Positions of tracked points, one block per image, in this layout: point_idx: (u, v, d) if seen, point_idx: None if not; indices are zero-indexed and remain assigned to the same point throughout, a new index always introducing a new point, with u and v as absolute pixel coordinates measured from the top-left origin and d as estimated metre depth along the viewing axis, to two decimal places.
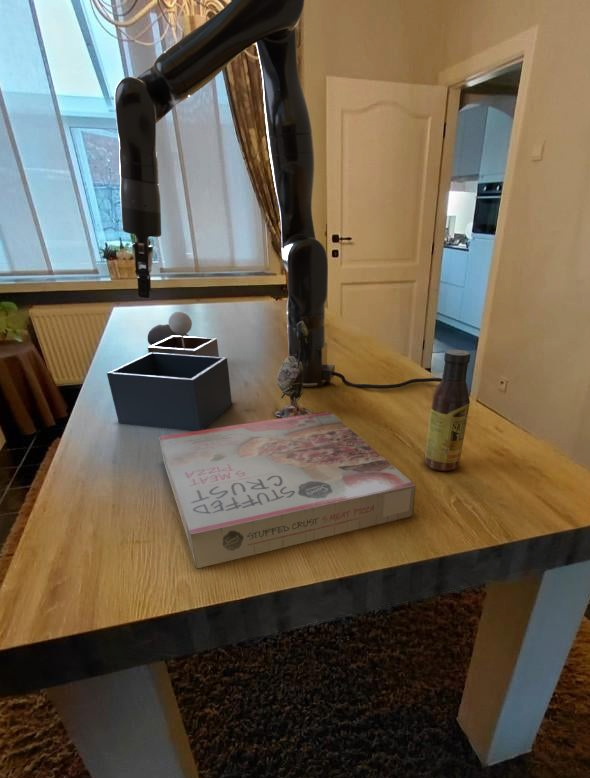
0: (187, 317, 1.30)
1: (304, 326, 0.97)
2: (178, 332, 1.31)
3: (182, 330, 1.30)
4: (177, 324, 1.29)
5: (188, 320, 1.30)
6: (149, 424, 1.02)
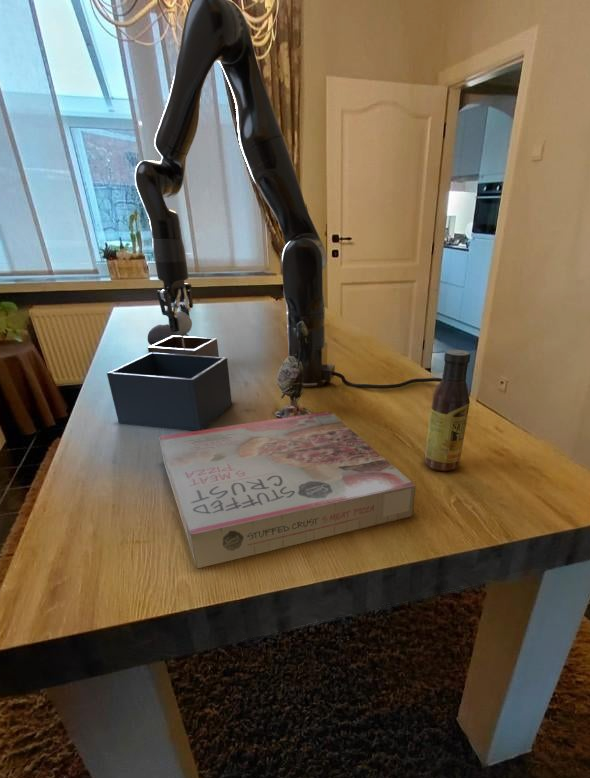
0: (187, 317, 1.30)
1: (304, 326, 0.97)
2: (178, 332, 1.31)
3: (182, 330, 1.30)
4: None
5: (188, 320, 1.30)
6: (149, 424, 1.02)
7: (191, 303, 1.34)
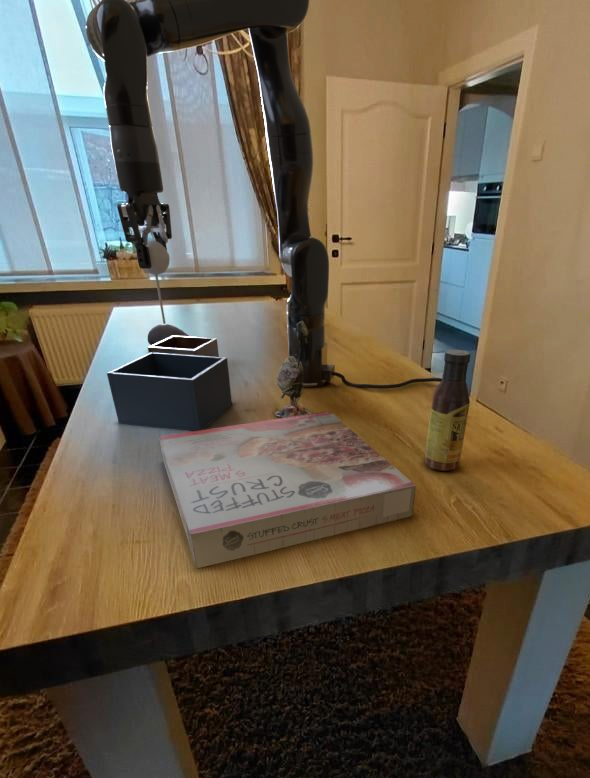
0: (163, 249, 0.93)
1: (304, 326, 0.97)
2: (150, 270, 0.94)
3: (155, 267, 0.93)
4: None
5: (164, 253, 0.93)
6: (149, 424, 1.02)
7: (169, 232, 0.97)
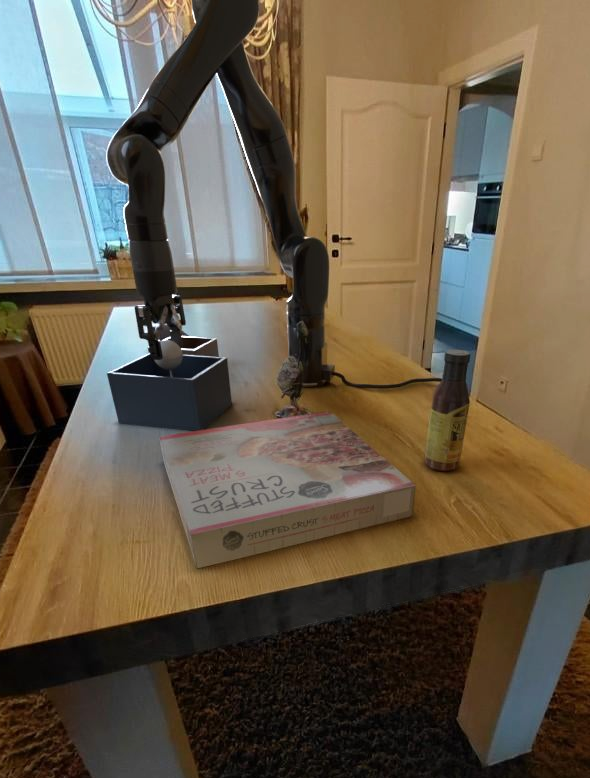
0: (176, 348, 1.01)
1: (304, 326, 0.97)
2: (165, 367, 1.01)
3: (169, 365, 1.01)
4: (163, 357, 1.00)
5: (178, 351, 1.01)
6: (149, 424, 1.02)
7: (183, 319, 1.04)
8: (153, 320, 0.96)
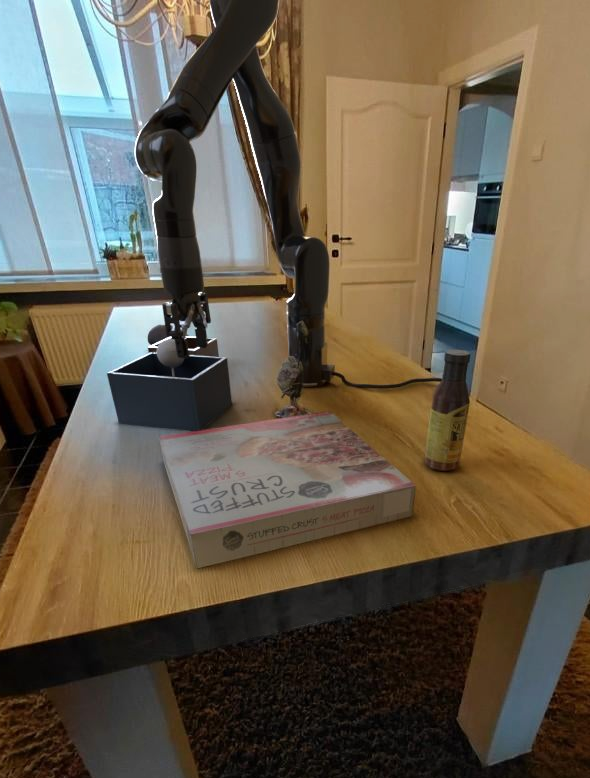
0: None
1: (304, 326, 0.97)
2: (167, 361, 1.05)
3: (171, 358, 1.05)
4: (166, 349, 1.04)
5: None
6: (149, 424, 1.02)
7: (208, 317, 1.03)
8: (180, 318, 0.95)
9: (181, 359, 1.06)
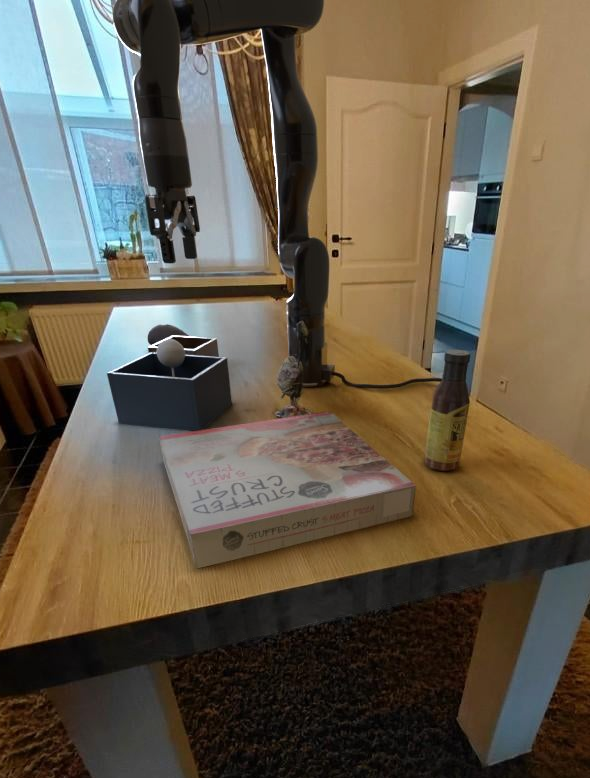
0: (179, 344, 1.06)
1: (304, 326, 0.97)
2: (167, 361, 1.05)
3: (171, 358, 1.05)
4: (166, 349, 1.04)
5: (180, 347, 1.06)
6: (149, 424, 1.02)
7: (197, 225, 0.94)
8: (165, 217, 0.86)
9: (181, 359, 1.06)
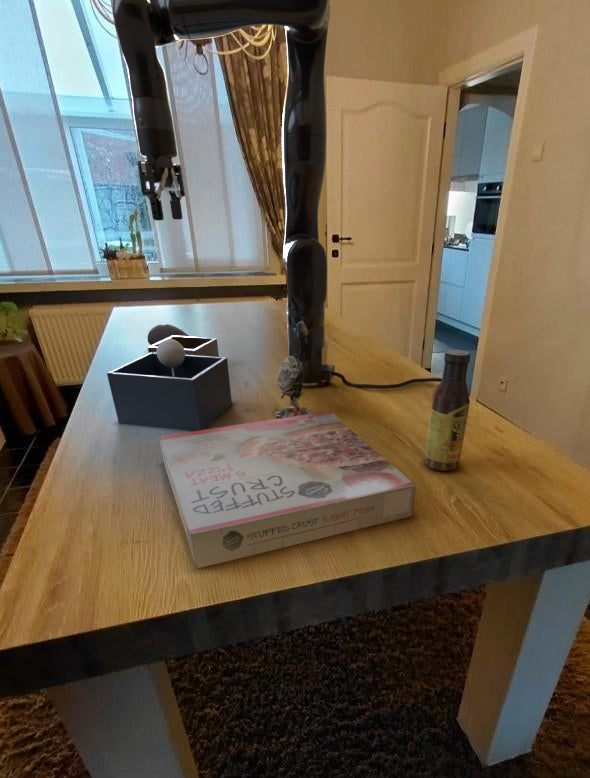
0: (179, 344, 1.06)
1: (304, 326, 0.97)
2: (167, 361, 1.05)
3: (171, 358, 1.05)
4: (166, 349, 1.04)
5: (180, 347, 1.06)
6: (149, 424, 1.02)
7: (182, 190, 1.12)
8: (155, 181, 1.04)
9: (181, 359, 1.06)
